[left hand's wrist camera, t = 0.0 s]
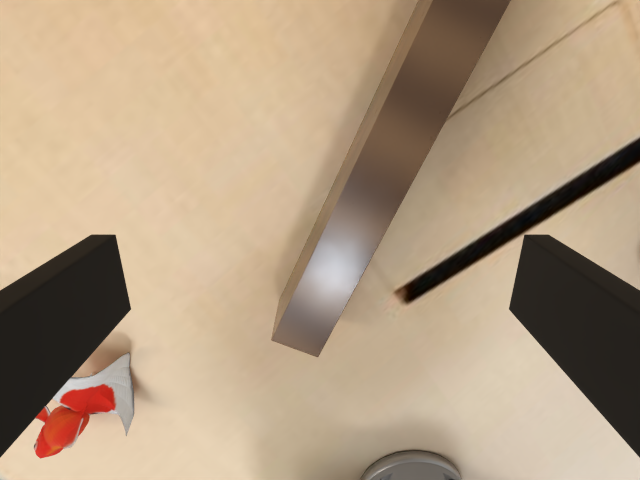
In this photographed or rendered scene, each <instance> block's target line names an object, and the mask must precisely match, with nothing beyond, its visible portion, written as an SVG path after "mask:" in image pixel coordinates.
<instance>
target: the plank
mask: <svg viewBox="0 0 640 480" xmlns="http://www.w3.org/2000/svg"><path fill="white" fill-rule="evenodd" d="M509 2H510V0H419V1H418V3H417V5H416V7H415V9H414V11H413V14H412V16H411V18H410V20H409V22H408V24H407V27H406V29H405V31H404V33H403V35H402V37H401V39H400V42H399V44H398V46H397V48H396V50H395V52H394V55H393V57H392V59H391V61H390V63H389V65H388V67H387V70H386V72H385V74H384V76H383V78H382V80H381V83H380V85H379V87H378V89H377V91H376V93H375V96H374V98H373V100H372V102H371V104H370V106H369V108H368V111H367V113H366V115H365V117H364V119H363V121H362V124H361V126H360V128H359V130H358V132H357V134H356V136H355V139H354V141H353V143H352V145H351V147H350V149H349V152H348V154H347V156H346V158H345V160H344V162H343V164H342V167H341V169H340V171H339V173H338V175H337V177H336V180H335V182H334V184H333V186H332V188H331V190H330V193H329V195H328V197H327V199H326V201H325V203H324V205H323V208H322V210H321V212H320V214H319V216H318V218H317V221H316V223H315V225H314V227H313V229H312V231H311V233H310V236H309V238H308V240H307V242H306V244H305V246H304V249H303V251H302V253H301V255H300V257H299V259H298V262H297V264H296V266H295V268H294V270H293V272H292V274H291V277H290V279H289V281H288V283H287V285H286V287H285V290H284V292H283V294H282V296H281V298H280V300H279V304H278V309H277V314H276V319H275V324H274V329H273V334H272V339H271V340H272V341H275V342H277V343H280V344H283V345H286V346H288V347H291V348H294V349H297V350H299V351H302V352H305V353H308V354H310V355H313V356H316V357H318V356H319V354H320V353H321V351H322V349H323V347H324V345H325V343H326V341H327V340H328V338H329V336H330V334H331V332H332V330H333V328H334V327H335V325H336V323H337V321H338V319H339V317H340V315H341V314H342V312H343V310H344V308H345V306H346V304H347V303H348V301H349V299H350V297H351V295H352V293H353V291H354V290H355V288H356V286H357V284H358V282H359V280H360V278H361V277H362V275H363V273H364V271H365V269H366V267H367V265H368V264H369V262H370V260H371V258H372V256H373V254H374V252H375V251H376V249H377V247H378V245H379V243H380V241H381V240H382V238H383V236H384V234H385V232H386V230H387V228H388V227H389V225H390V223H391V221H392V219H393V217H394V215H395V214H396V212H397V210H398V208H399V206H400V204H401V202H402V201H403V199H404V197H405V195H406V193H407V191H408V189H409V188H410V186H411V184H412V182H413V180H414V178H415V177H416V175H417V173H418V171H419V169H420V167H421V165H422V164H423V162H424V160H425V158H426V156H427V154H428V152H429V151H430V149H431V147H432V145H433V143H434V141H435V139H436V138H437V136H438V134H439V132H440V130H441V128H442V126H443V125H444V123H445V121H446V119H447V117H448V115H449V114H450V112H451V110H452V108H453V106H454V104H455V102H456V101H457V99H458V97H459V95H460V93H461V91H462V89H463V88H464V86H465V84H466V82H467V80H468V78H469V76H470V75H471V73H472V71H473V69H474V67H475V65H476V63H477V62H478V60H479V58H480V56H481V54H482V52H483V51H484V49H485V47H486V45H487V43H488V41H489V39H490V38H491V36H492V34H493V32H494V30H495V28H496V26H497V25H498V23H499V21H500V19H501V17H502V15H503V13H504V12H505V10H506V8H507V6H508V4H509Z"/></svg>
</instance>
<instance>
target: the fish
mask: <svg viewBox="0 0 640 480" xmlns="http://www.w3.org/2000/svg"><path fill="white" fill-rule="evenodd" d="M129 366H130V353H127V354H125V355H122V356H121V357H120V358H118V359H117V360H116V361H115V362H113V363H112V364H111V365H110V366H108V367H107V368H105V369H103V370H102V371H100V372H99V373H97V374H96V375H94V376H91V375H92V373H91V375H90V376H89V377H84V378H81V377H71V378H70V379H69V380H68V381H67V382H66V383H65V385H64V386H63V387H62V388H61V389H60V390H59V391H58V393H57V394H56V395H55V396H54V397H53V399H54V400H56V401H57V402H58V403H60V404H61V405H62V406H59V407H57V408H55V409H54V410H53V411H52V412H51V413H50V411H49V409H48V408H47V406H45V407H44V408H43V410H42V411H41V412H40V413H39V414H38V415H37V416H36V417H35V418H37V419H39V420H41V421H43V422H45V425H44V426H43V427H42V429H41V432H40V434H39V436H38V438H37V440H36V443H35V445H34V450H35V452H36V455H37V456H38V457H39V458H44V457H48V456H52V455H55V454H57V453H59V452H60V451H61V450H62V449H65V448H69V447H72V446H73V445H74V444H75V442H76V440H77V438H78V436H79V435H80V434H81V433H82V431H83V430H84V428H85V427H86V425H87V424H88V422H89V416H90V414H98V413H112V414H118V415H119V416H120V417H121V420H122V422H123V425H124V428H125V431H126V436H127V433H128V430H129V427H130V424H131V422H132V419H133V416H134V390H133V384H132V379H131V373H130V367H129Z"/></svg>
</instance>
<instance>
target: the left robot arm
mask: <svg viewBox="0 0 640 480" xmlns="http://www.w3.org/2000/svg"><path fill="white" fill-rule="evenodd" d="M130 310H131V307H130V302H129V297H128V292H127V288H126V283H125V278H124V273H123V269H122V264H121V259H120V254H119V249H118V245H117V240H116V235H90V236H89V237H87V238H85V239H84V240H82V241H80V242H79V243H77V244H76V245H74V246H72V247H71V248H69V249H67V250H66V251H64V252H62V253H61V254H59V255H58V256H56V257H54V258H53V259H51V260H49V261H48V262H46V263H45V264H43V265H41V266H40V267H38V268H36V269H35V270H33V271H31V272H30V273H28V274H27V275H25V276H23V277H22V278H20V279H18V280H17V281H15V282H14V283H12V284H10V285H9V286H7V287H5V288H4V289H2V290H0V457H1V456H2V455H3V454H4V453H5V452H6V450H7V449H8V448H9V447H10V446H11V445H12V444H13V442H14V441H15V440H16V439H17V438H18V437H19V436H20V435H21V433H22V432H23V431H24V430H25V429H26V428H27V427H28V425H29V424H30V423H31V422H32V421H33V420H34V419H35V417H36V416H37V415H38V414H39V413H40V412H41V411H42V410H43V408H44V407H45V406H46V405H47V404H48V403H49V402H50V400H51V399H52V398H53V397H54V396H55V395H56V394H57V393H58V391H59V390H60V389H61V388H62V387H63V386H64V385H65V383H66V382H67V381H68V380H69V379H70V378H71V377H72V376H73V374H74V373H75V372H76V371H77V370H78V369H79V368H80V366H81V365H82V364H83V363H84V362H85V361H86V360H87V359H88V357H89V356H90V355H91V354H92V353H93V352H94V351H95V349H96V348H97V347H98V346H99V345H100V344H101V343H102V341H103V340H104V339H105V338H106V337H107V336H108V335H109V334H110V332H111V331H112V330H113V329H114V328H115V327H116V326H117V324H118V323H119V322H120V321H121V320H122V319H123V318H124V317H125V315H126V314H127V313H128V312H129V311H130ZM509 310H510V311H511V312H512V313H513V314H514V315H515V317H516V318H517V319H518V320H519V321H520V322H521V323H522V324H523V326H524V327H525V328H526V329H527V330H528V331H529V332H530V334H531V335H532V336H533V337H534V338H535V339H536V340H537V342H538V343H539V344H540V345H541V346H542V347H543V348H544V349H545V351H546V352H547V353H548V354H549V355H550V356H551V357H552V359H553V360H554V361H555V362H556V363H557V364H558V365H559V366H560V368H561V369H562V370H563V371H564V372H565V373H566V374H567V376H568V377H569V378H570V379H571V380H572V381H573V382H574V383H575V385H576V386H577V387H578V388H579V389H580V390H581V391H582V393H583V394H584V395H585V396H586V397H587V398H588V399H589V400H590V402H591V403H592V404H593V405H594V406H595V407H596V408H597V410H598V411H599V412H600V413H601V414H602V415H603V416H604V417H605V419H606V420H607V421H608V422H609V423H610V424H611V425H612V427H613V428H614V429H615V430H616V431H617V432H618V433H619V435H620V436H621V437H622V438H623V439H624V440H625V441H626V442H627V444H628V445H629V446H630V447H631V448H632V449H633V450H634V452H635V453H636V454H637V455H638V456H639V457H640V290H638V289H636V288H635V287H633V286H631V285H630V284H628V283H626V282H625V281H623V280H622V279H620V278H618V277H617V276H615V275H613V274H612V273H610V272H609V271H607V270H605V269H604V268H602V267H600V266H599V265H597V264H595V263H594V262H592V261H591V260H589V259H587V258H586V257H584V256H582V255H581V254H579V253H578V252H576V251H574V250H573V249H571V248H569V247H568V246H566V245H564V244H563V243H561V242H560V241H558V240H556V239H555V238H553V237H551V236H550V235H524V240H523V245H522V249H521V254H520V259H519V264H518V269H517V273H516V278H515V283H514V288H513V292H512V297H511V302H510V307H509ZM361 480H462V479H461V477H460V474H459V472H458V470H457V469H456V467H455V466H454V465H453V464H452V463H451V462H449V461H448V460H447V459H445V458H443V457H441V456H439V455H436V454H433V453H429V452H423V451H406V452H399V453H395V454H392V455H389V456H386V457H384V458H382V459H380V460H378V461H377V462H375V463H374V464H372V465H371V466H370V467H369V468H368V469H367V470H366V471H365V473H364V474H363V476H362V478H361Z"/></svg>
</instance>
